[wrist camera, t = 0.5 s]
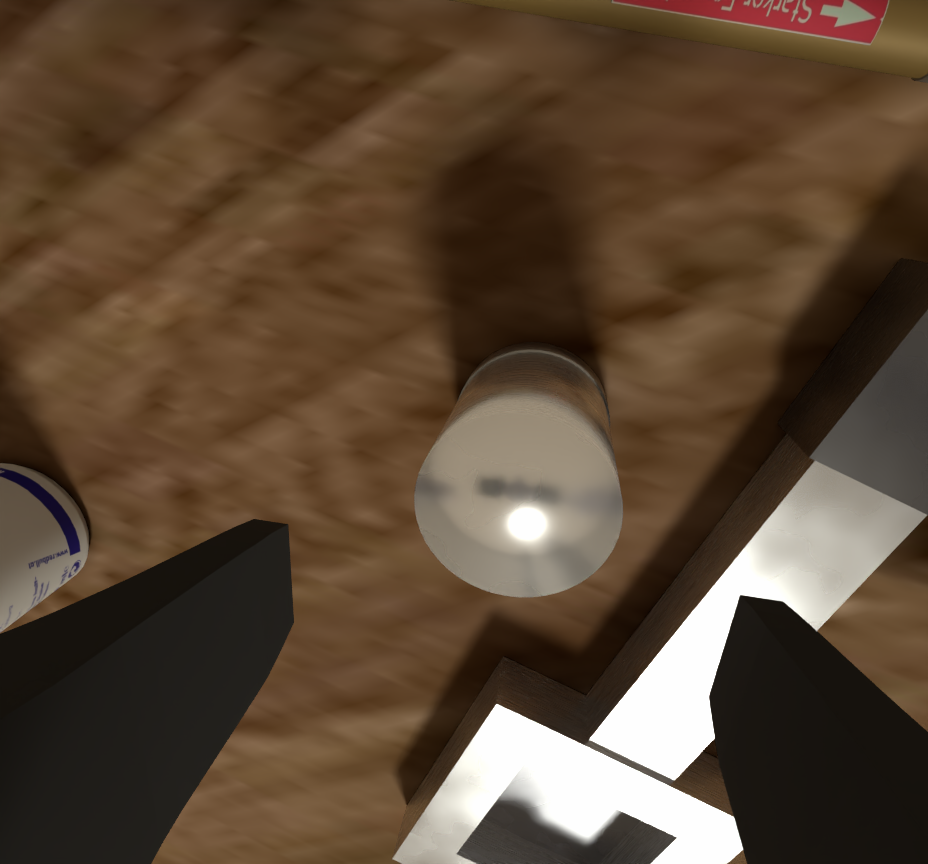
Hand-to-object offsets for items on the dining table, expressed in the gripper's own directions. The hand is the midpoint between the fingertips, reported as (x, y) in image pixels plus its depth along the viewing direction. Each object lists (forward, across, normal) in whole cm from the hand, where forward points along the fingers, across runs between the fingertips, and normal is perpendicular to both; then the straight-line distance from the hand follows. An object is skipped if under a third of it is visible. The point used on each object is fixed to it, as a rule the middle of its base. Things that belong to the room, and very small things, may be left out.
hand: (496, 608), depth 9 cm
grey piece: (+9, -6, +8) cm, 14 cm away
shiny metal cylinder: (+9, 0, 0) cm, 9 cm away
